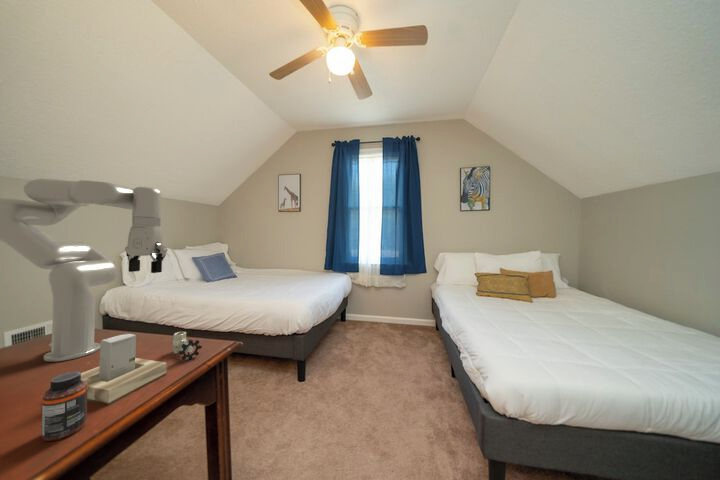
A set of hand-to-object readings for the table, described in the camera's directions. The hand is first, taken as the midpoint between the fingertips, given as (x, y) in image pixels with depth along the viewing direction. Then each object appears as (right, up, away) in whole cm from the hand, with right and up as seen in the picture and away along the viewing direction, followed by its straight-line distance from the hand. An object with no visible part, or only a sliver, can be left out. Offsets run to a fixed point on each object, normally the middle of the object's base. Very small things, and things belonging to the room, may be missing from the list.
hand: (145, 272), depth 86 cm
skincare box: (+9, -28, -18) cm, 35 cm away
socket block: (+9, -28, -19) cm, 35 cm away
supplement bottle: (+14, -28, -35) cm, 48 cm away
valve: (+14, -29, -1) cm, 32 cm away
